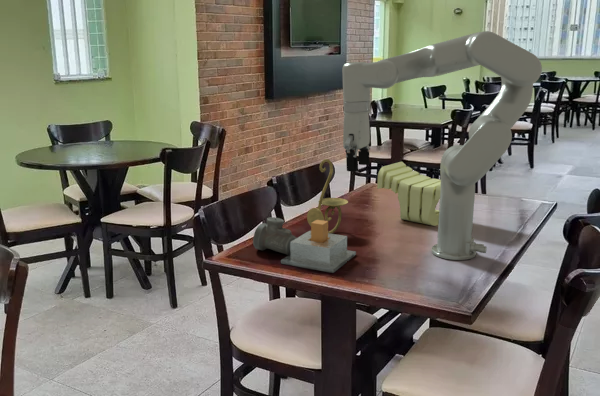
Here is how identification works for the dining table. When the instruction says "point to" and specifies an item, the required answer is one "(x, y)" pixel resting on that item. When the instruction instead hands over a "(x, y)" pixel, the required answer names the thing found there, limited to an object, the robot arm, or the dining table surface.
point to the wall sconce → (326, 202)
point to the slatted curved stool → (412, 192)
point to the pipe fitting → (273, 236)
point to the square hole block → (319, 253)
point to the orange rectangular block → (319, 231)
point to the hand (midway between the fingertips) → (358, 167)
